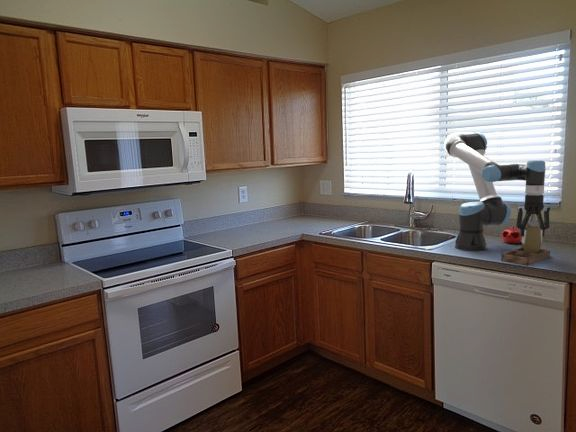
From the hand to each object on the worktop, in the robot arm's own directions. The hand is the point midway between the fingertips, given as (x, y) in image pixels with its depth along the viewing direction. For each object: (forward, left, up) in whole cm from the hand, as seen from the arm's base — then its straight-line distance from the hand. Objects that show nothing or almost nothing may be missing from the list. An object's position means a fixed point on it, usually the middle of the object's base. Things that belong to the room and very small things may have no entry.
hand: (531, 243), depth 207 cm
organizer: (0, -5, -6) cm, 8 cm away
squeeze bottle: (0, 0, -5) cm, 5 cm away
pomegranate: (-20, +24, -7) cm, 32 cm away
